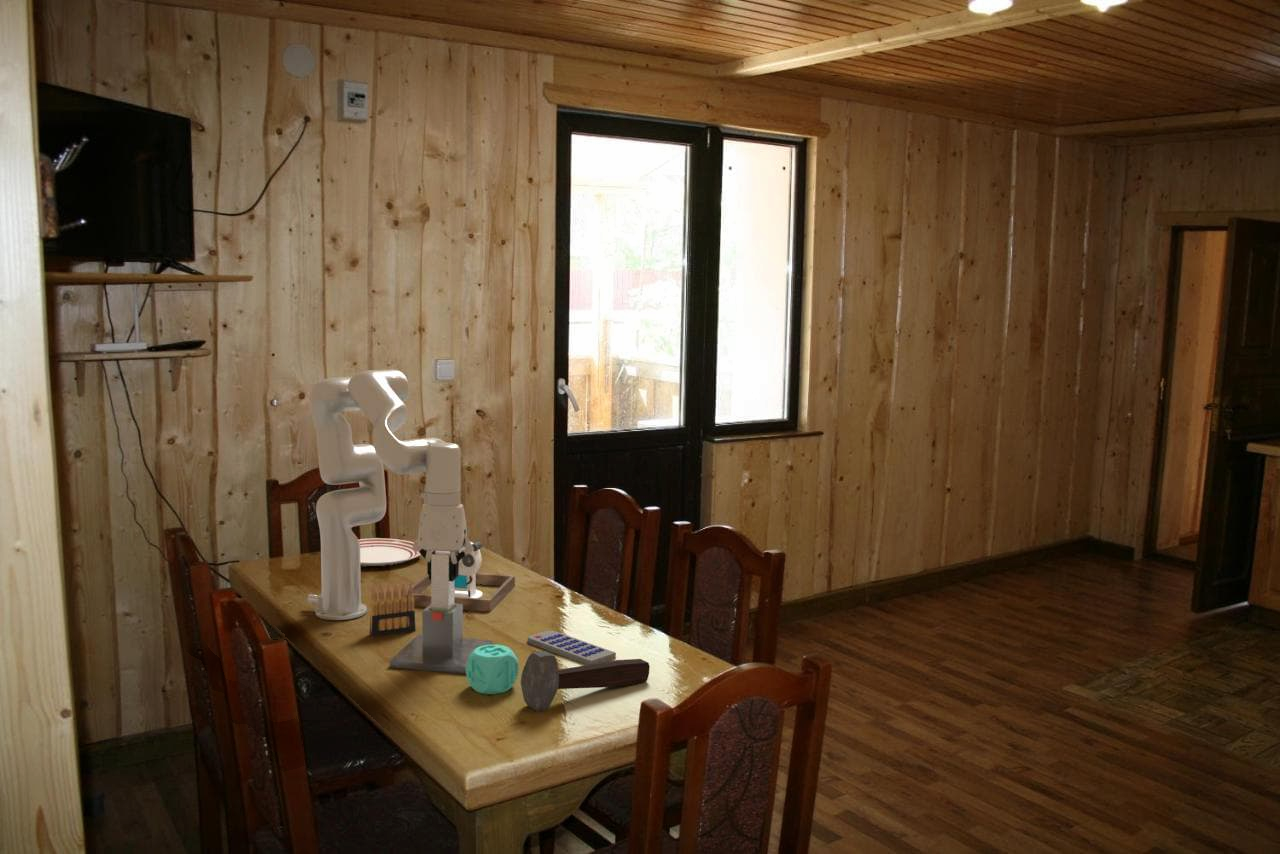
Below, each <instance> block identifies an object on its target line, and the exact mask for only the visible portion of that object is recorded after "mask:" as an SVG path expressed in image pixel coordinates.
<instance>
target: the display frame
mask: <svg viewBox="0 0 1280 854" xmlns="http://www.w3.org/2000/svg"><path fill="white" fill-rule="evenodd" d="M430 584H431V580H429V575H428V574H426V575H424V576H423V577H422V578H420V579H419V580H417V581H416V582H415V583H414V584H412V586H413V596H414V607H424V608H427V607H428V606H429V605H430V604H431V594H424V593H423V594H422V592H423V591H425V590H426V589H427V588H428V587H430V586H431V585H430ZM480 584H482V585H483V586H494V585H496V586H497V587H498V588H497V590H495V591H494V592H493V593H492V594H491V595H490V596H489V597H488V598H482V597H481V598H467V597H454V603H457V604H463V611H476V612H492V611H493V609H494V608H496V607H497V606H498V604H500V602H501V601H502V600H504V598H505V597H506V596H507V595H508V594H509V593H510V591H512V590H513V589H514V588H515V587H516V575H513V574H499V573H498V574H497V573H486V572H485V573H484V572H476V585H480ZM429 585H430V586H429ZM427 586H428V587H427ZM514 586H515V587H514ZM426 587H427V588H426ZM425 588H426V589H425ZM408 589H409V587H408V588H407V589H406V599H408ZM424 589H425V590H424ZM421 591H422V592H421ZM420 592H421V593H420ZM419 593H420V594H419Z"/></svg>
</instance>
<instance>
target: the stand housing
mask: <svg viewBox="0 0 1280 854" xmlns="http://www.w3.org/2000/svg"><path fill="white" fill-rule="evenodd" d="M463 611H464V610H463V604H457V603H455V607H454V608H453V609H452V610H451V611H450V612H449V611H436V610H431V604H430V605H429V606H428V607H424V609H423V610H422V613H421V615H422V621H421V622H422V632H421V633H422V634H417V635H416V636H415V637H414V638H413V639H412V640H411V641H410V642H408V644H406V645H405V646H404V647H403V648H402V649H401V650H400V651H398V652H397V653H396V654H395V655H394V656H393V657H392V658H391V659H390V660H389V668H392V669H405V670H415V671H426V672H427V671H429V672H440V673H441V672H442V673H453V674H463V675H464V674H465V675H466V664H467V660H468V658H469V656H470V655H471V653H472V652H473V651H474V650H475V649H476V648H478V647H480V646H484V645H494V644H493V641H494V640H493V639H483V638H470V637H469V638H467V637H463V631H464V630H463V628H464V627H463V626H464V625H463V624H464V623H463V622H464V619H463V617H464V616H463V615H464V612H463Z"/></svg>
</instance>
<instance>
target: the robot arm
mask: <svg viewBox="0 0 1280 854" xmlns="http://www.w3.org/2000/svg"><path fill="white" fill-rule="evenodd" d="M410 389H411V386H410V383H409V381H408V378H407V377H406V375H405V374H404V373H403V372H401V371H400V370H397V369H393V368H392V369H372V370H370V369H368V370H363V371H359V372H357V373H355V374H354V375H353V376H338V377H330V378H324V379H321V380H318V381H316V382H315V383H314V384H312V386H311V389H310V391H309V394H308V407H309V412H310V415H311V419H312V421H313V425H314V428H315V434H316V446H317V447H316V448H317V457H318V467H319V475H320V478H321V480H322V482H324V483H325V484H327V485H331V486H333V485H334V486H335V485H336V486H337V485H338V486H339V485H347V484H355V483H358V484H359V486H358V487H352V488H349V487H348V488H344V489H337V490H332V491H329V492H326V493H324V494H323V495H321V496H320V497H319V498H318V499H317V502H316V506H315V510H316V511H315V512H316V517H317V521H318V527H319V536H320V559H321V560H320V562H321V565H320V566H321V568H320V569H321V570H320V572H321V575H320V577H321V578H320V579H321V581H320V582H321V594H319V595H317V594H313V593H312V594H311V593H309V594H308V596H307V604H308V605H316V606H317V607H316V608H315V610H314V612H315V616H316V617H317V618H320V619H323V620H328V621H346V620H353V619H357V618H361V617H362V616H364V615H366V613H368V607H367V605H366V604H364V603H362V599H361V598H362V597H361V595H362V594H361V593H362V591H361V590H362V589H361V588H362V585H361V584H362V583H361V581H362V580H361V575H362V574H361V572H362V571H361V567H362V566H360V543H359V538H358V536H356V534H355V532H353V529H352V528H353V527H357V526H361V525H362V526H363V525H369V524H373V523H377V522H379V521H381V520H382V519H383V518H384V517H385V514H386V512H387V494H386V481H385V469H384V465H385V467H386V468H387V469H388V470H389V471H391V472H392V473H394V474H397V475H407V474H408V475H409V474H417V473H423V472H425V490H424V491H423V492H420V493H419V498H420V499H422V500H424V502H425V503H423V504H422V505H421V507H420V514H419V515H420V516H419V523H418V532H417V533H418V534H417V538H416V539H415V541H414V542H413V543H414V544H413V545H412V547H413V548H414V549H415V550H417V551H418V552H420V554H421V555H420V556H422V557H423V559H424V560H425V562H426V563H427V564H426V566H427V572H426V573H427V574H428V575H429V580H431V555H432V554H433V553H434V552H436V551H450V555H451V564H450V566H449V580H450V581H454V580H455V579H456V578H457V577H458V574H459V561H460V560H461V559H462V558H463V557H464V556H465V555H467V554H469V553H470V552H472V551H473V550H474V547H473V546H472V544H471V543H470V542H471V541H470V539H469V538H468V531H467V530H468V529H467V520H466V519H467V518H466V513H465V508H464V504H462V503H461V485H462V484H461V483H462V482H461V481H462V479H461V477H462V476H461V469H462V467H461V465H462V463H461V462H462V460H461V458H462V457H461V455H462V454H461V453H462V452H461V447H460V446H459V445H458V444H456V443H453V442H445V441H443V440H442V439H440V438H437V437H426V438H425V437H424V438H412V439H411V438H410V439H403V440H399V439H398V438H397V437H396V436H395V435H394V434H393V433H395V432H396V431H398V430H399V429H400V428H402V426H403V425H404V424H405V422H406V421H407V419H408V415H409V410H408V407H407V405H406V404H405V401H406V400H408V397H409V395H410V392H411V390H410ZM358 411H359V412H360V411H362V412H363V414H364V415H365V416H366V417H367V418H368V420H369V421H370V423H372V424H373V428H372V436H371V438H372V444H370V443H369V444H368V443H359V444H354V442H353V433H352V428H351V424H350V423H349V422H348V419H346V417H345V416H344V415H343V414H342V413H343V412H358ZM462 547H465V550H463V551H461V552H459V550H460V549H461V548H462ZM427 574H426V575H427Z"/></svg>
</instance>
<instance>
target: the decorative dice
mask: <svg viewBox="0 0 1280 854" xmlns="http://www.w3.org/2000/svg"><path fill="white" fill-rule="evenodd" d="M519 668H520V666H519V660H518V658H517V656H516V654H515V652H514V651H513V650H512V649H511V648H510V647H509V646H506V645H503V644H502V645H501V644H493V645H484V646H480V647H478V648H476V649H475V650H474V651H473V652H472V653H471V655H470V656H469V658H468V660H467V664H466V674H465V676H466V679H467V682H468V684H469V686H470V687H471V688H472V689H473V690H474V691H476V692H477V693H480V694H484V695H499V694H502V693H506V692H508V691H509V690H510V689H511V688H512V687H513V686H514V684H515V683H516V682H517V679H518V677H519V676H518V675H519V671H520V669H519Z"/></svg>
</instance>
